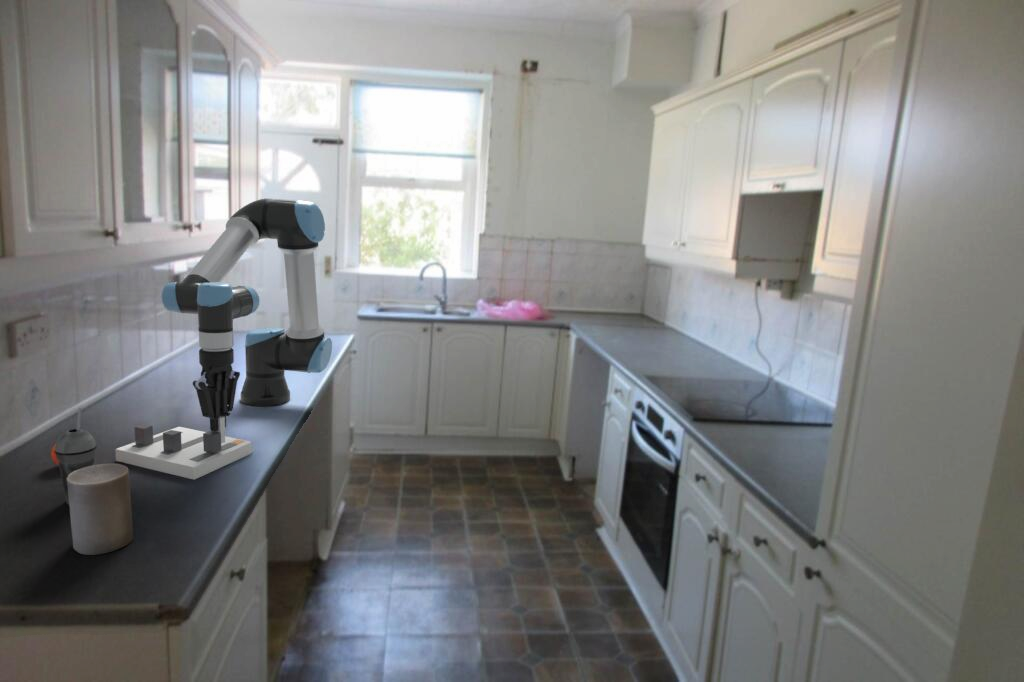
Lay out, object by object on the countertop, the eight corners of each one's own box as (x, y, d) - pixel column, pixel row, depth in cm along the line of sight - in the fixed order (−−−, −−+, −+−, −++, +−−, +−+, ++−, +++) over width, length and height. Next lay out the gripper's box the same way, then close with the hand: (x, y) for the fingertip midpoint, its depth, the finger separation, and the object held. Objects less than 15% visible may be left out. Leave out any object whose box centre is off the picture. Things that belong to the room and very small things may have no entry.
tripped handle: (211, 448, 160) (211, 430, 160) (221, 450, 159) (220, 432, 159) (203, 451, 158) (203, 433, 157) (213, 453, 157) (213, 435, 156)
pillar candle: (142, 529, 127) (137, 456, 124) (120, 555, 118) (114, 476, 115) (87, 530, 126) (81, 456, 123) (61, 556, 116) (54, 477, 113)
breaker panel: (179, 437, 176) (178, 410, 174) (252, 453, 168) (251, 424, 166) (116, 460, 158) (114, 430, 156) (194, 479, 150) (192, 448, 149)
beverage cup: (52, 500, 136) (45, 408, 132) (92, 490, 142) (85, 401, 138) (66, 511, 132) (58, 417, 128) (105, 500, 138) (100, 409, 134)
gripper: (224, 341, 163) (226, 431, 168) (182, 350, 151) (185, 447, 155) (248, 345, 161) (249, 436, 165) (207, 354, 149) (210, 453, 153)
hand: (218, 441), depth 160 cm, fingers closed
